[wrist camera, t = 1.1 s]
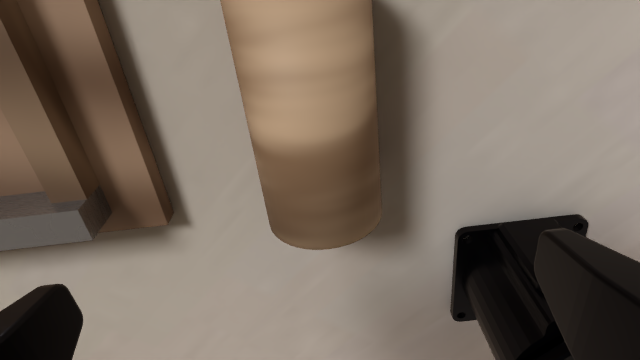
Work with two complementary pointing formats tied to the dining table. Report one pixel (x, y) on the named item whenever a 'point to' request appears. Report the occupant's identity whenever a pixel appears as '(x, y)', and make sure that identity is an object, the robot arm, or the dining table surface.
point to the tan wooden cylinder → (311, 114)
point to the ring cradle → (69, 130)
